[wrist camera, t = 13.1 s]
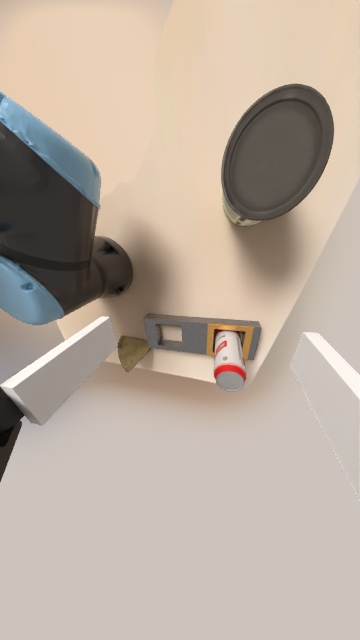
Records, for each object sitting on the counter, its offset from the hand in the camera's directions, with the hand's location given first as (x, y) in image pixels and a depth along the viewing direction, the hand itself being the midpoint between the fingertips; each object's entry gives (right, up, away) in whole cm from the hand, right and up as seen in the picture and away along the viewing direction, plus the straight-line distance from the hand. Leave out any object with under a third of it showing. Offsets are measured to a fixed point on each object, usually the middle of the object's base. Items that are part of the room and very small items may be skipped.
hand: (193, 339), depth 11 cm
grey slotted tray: (+4, -2, +34) cm, 34 cm away
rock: (-16, -6, +41) cm, 45 cm away
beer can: (+12, -3, +32) cm, 34 cm away
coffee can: (+12, +24, +17) cm, 32 cm away
